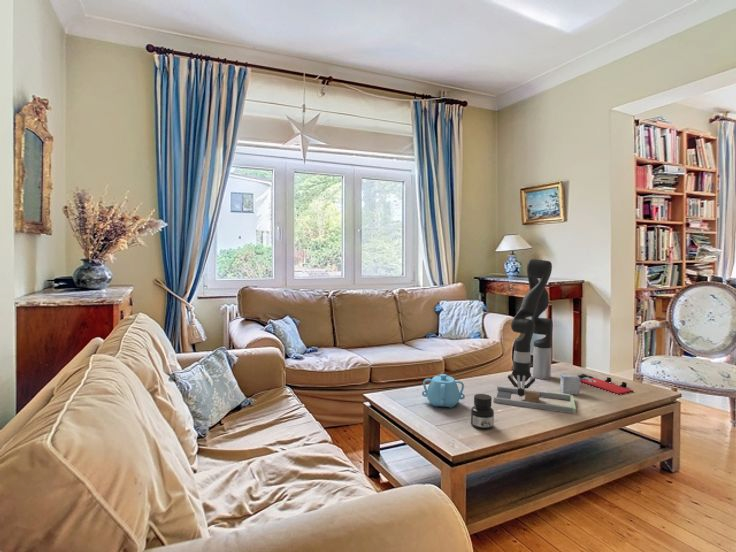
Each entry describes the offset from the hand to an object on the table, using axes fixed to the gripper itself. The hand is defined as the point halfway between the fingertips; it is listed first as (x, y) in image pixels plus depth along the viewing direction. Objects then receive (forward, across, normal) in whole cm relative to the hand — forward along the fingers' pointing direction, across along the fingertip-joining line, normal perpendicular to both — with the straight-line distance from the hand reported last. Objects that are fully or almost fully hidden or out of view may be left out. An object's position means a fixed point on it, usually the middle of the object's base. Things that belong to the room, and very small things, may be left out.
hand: (520, 396), depth 198 cm
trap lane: (+2, -5, 0) cm, 5 cm away
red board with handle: (+2, -38, -41) cm, 56 cm away
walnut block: (+2, -5, 0) cm, 5 cm away
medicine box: (+2, -22, -19) cm, 29 cm away
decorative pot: (+2, +33, +20) cm, 39 cm away
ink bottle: (+2, +12, +38) cm, 40 cm away
